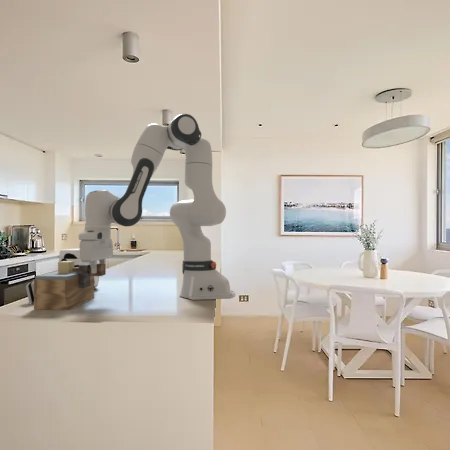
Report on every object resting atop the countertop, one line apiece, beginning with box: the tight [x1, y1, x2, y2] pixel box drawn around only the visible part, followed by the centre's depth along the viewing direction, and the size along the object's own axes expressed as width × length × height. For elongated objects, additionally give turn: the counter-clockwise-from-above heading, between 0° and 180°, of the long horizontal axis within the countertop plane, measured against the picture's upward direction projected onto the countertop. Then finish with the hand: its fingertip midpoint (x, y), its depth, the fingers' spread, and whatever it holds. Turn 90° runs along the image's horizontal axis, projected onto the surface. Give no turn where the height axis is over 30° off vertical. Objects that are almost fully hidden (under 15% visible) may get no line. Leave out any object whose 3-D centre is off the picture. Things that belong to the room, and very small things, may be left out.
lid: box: [35, 261, 79, 280], centre depth 130 cm, size 11×19×6 cm, turn 176°
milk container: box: [58, 248, 100, 289], centre depth 157 cm, size 17×17×18 cm
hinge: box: [25, 279, 35, 305], centre depth 137 cm, size 17×5×10 cm, turn 174°
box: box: [33, 264, 95, 311], centre depth 130 cm, size 15×20×14 cm
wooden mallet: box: [72, 263, 107, 277], centre depth 129 cm, size 11×4×4 cm, turn 86°
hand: (98, 272), depth 129 cm, fingers closed on wooden mallet, 4 cm apart
